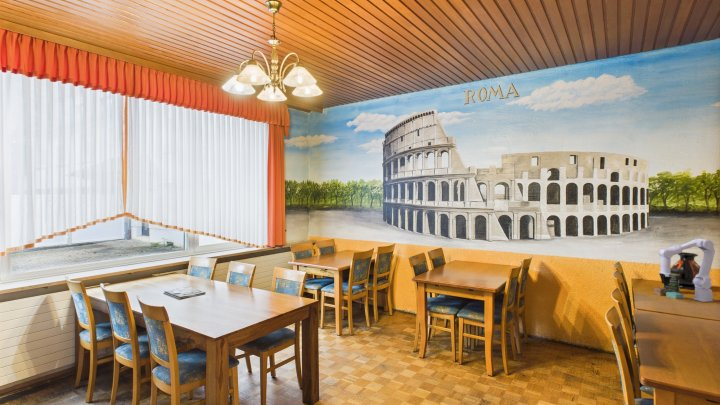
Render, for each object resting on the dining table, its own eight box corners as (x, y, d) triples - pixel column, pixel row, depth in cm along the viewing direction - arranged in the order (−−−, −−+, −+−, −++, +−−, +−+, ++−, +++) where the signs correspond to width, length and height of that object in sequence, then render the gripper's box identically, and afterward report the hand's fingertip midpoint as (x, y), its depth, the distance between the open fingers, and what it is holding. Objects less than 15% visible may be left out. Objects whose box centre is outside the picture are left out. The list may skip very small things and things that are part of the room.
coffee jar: (662, 291, 292) (663, 268, 291) (663, 289, 298) (664, 266, 297) (679, 294, 285) (680, 269, 285) (679, 292, 291) (680, 268, 291)
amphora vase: (672, 283, 321) (673, 250, 320) (706, 288, 304) (707, 253, 303) (666, 286, 307) (667, 253, 306) (701, 292, 290) (702, 256, 290)
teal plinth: (674, 295, 280) (674, 291, 279) (683, 298, 273) (683, 294, 273) (666, 296, 278) (666, 292, 278) (675, 298, 271) (675, 294, 271)
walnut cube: (659, 293, 286) (659, 287, 286) (665, 295, 281) (666, 289, 281) (653, 294, 285) (654, 287, 285) (660, 295, 280) (660, 289, 280)
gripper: (656, 263, 280) (656, 281, 280) (660, 267, 267) (659, 286, 268) (668, 264, 276) (668, 283, 277) (672, 268, 264) (672, 287, 264)
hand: (664, 284), depth 272 cm, fingers open, 7 cm apart
